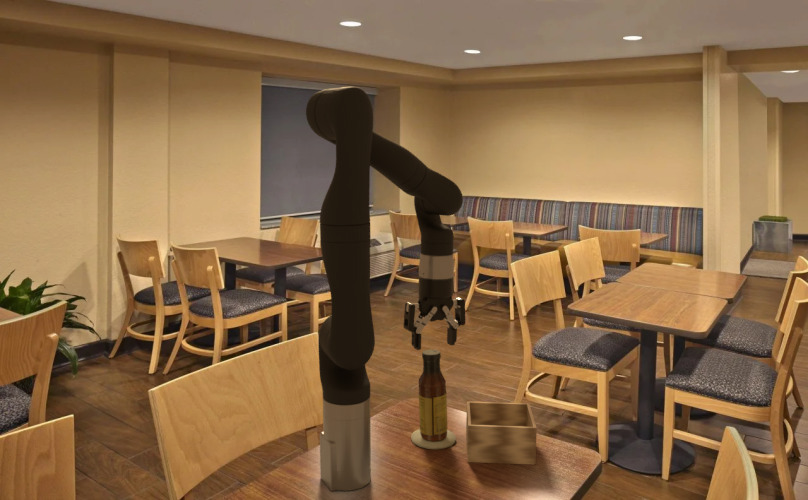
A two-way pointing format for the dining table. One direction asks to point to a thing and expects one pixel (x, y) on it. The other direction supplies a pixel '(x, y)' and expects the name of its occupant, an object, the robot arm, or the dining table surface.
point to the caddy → (500, 433)
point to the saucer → (427, 444)
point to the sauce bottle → (432, 398)
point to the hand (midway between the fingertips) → (434, 346)
